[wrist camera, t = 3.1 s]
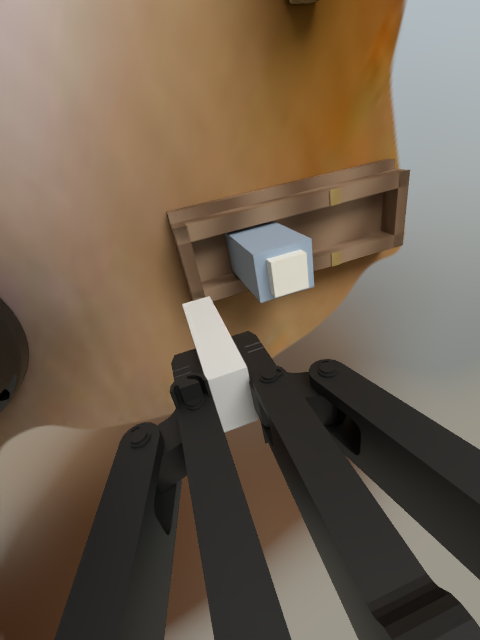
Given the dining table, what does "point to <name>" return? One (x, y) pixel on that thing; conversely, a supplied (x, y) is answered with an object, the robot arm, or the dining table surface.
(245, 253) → the rider
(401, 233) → the wooden tray
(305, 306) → the dining table surface
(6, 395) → the robot arm
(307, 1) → the rock
